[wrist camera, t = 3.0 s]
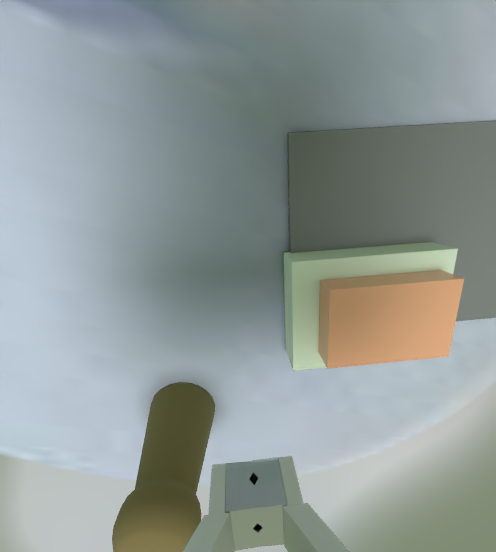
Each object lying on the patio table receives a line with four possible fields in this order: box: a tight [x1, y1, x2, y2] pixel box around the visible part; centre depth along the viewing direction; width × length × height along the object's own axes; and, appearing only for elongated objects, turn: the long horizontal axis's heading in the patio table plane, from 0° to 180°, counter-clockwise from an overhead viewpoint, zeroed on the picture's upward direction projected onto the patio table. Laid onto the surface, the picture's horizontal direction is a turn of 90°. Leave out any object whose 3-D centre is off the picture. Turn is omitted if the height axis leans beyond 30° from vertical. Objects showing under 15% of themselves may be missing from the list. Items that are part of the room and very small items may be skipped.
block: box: [318, 270, 464, 368], centre depth 19 cm, size 6×9×2 cm, turn 94°
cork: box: [112, 383, 215, 552], centre depth 20 cm, size 6×6×11 cm
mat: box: [288, 121, 496, 321], centre depth 21 cm, size 16×21×1 cm
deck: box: [283, 242, 458, 371], centre depth 21 cm, size 9×12×3 cm
